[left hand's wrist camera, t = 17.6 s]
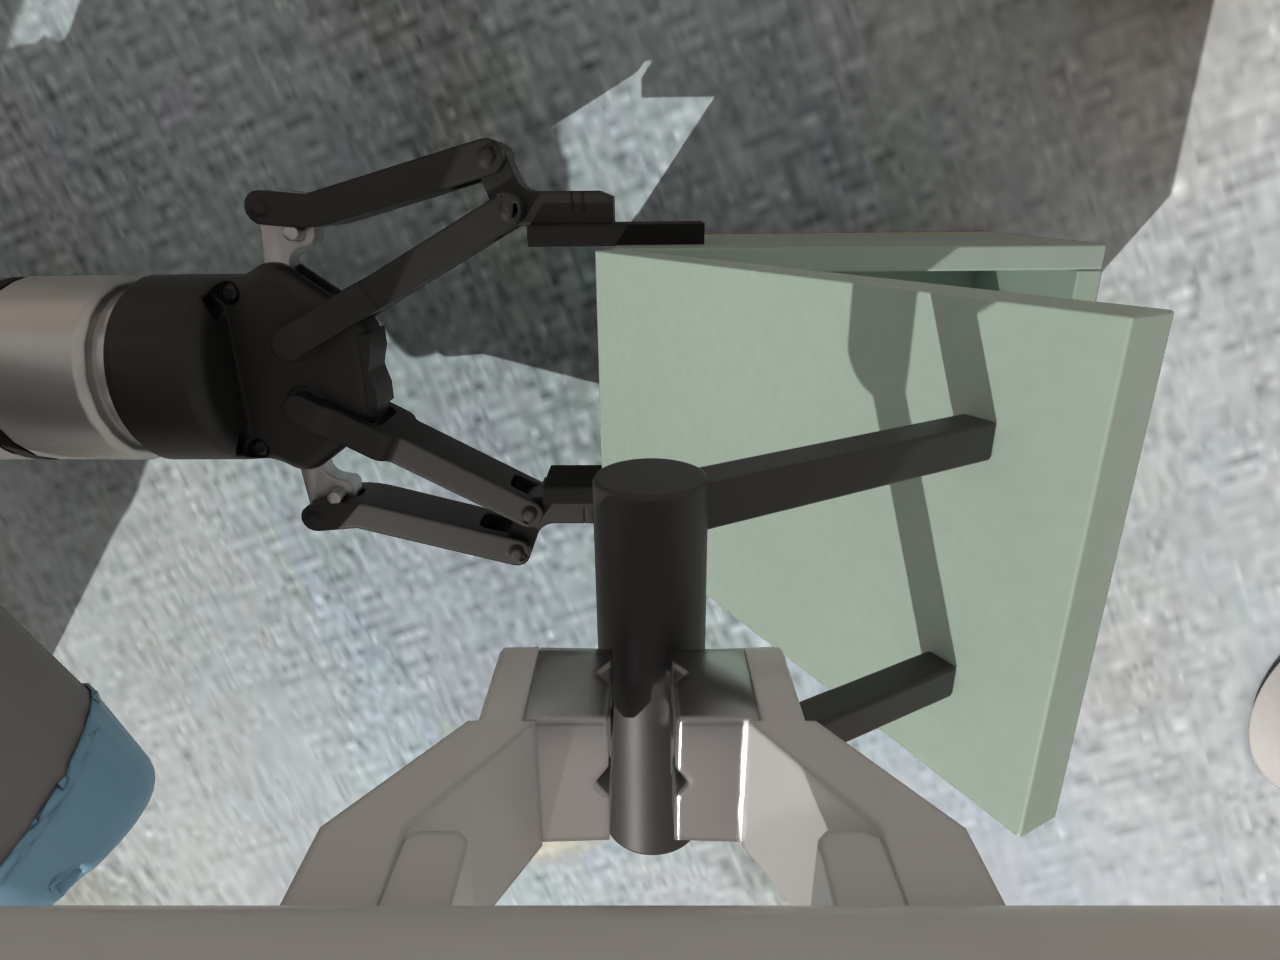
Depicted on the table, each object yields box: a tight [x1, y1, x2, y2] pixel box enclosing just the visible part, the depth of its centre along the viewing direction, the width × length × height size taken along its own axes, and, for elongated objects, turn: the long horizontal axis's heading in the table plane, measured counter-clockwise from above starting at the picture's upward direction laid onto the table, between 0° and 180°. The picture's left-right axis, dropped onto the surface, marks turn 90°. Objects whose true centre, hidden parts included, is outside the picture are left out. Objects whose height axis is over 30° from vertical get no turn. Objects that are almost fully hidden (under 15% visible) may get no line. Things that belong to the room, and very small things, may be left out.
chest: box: [611, 231, 1106, 302], centre depth 32 cm, size 17×10×10 cm, turn 91°
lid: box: [592, 249, 1174, 855], centre depth 18 cm, size 18×10×8 cm
